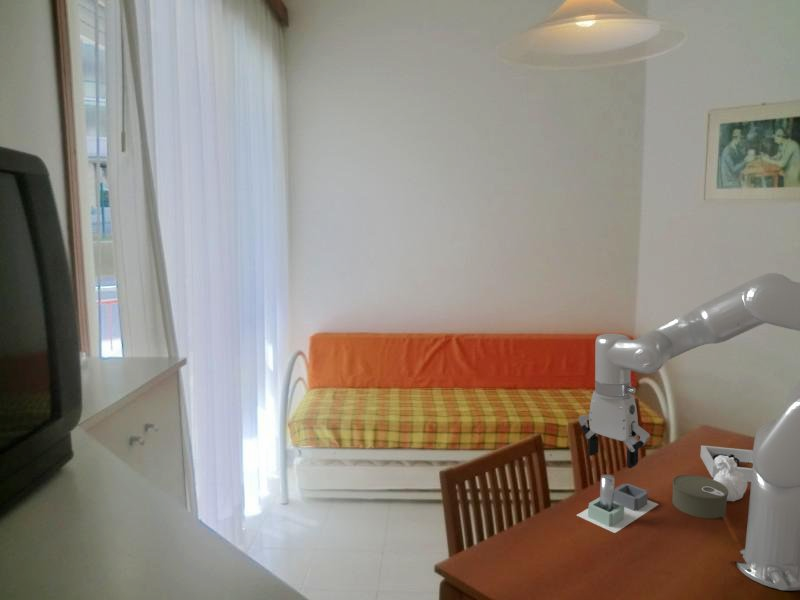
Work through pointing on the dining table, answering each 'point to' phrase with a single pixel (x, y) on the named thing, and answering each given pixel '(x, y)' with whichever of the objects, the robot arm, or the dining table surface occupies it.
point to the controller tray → (740, 454)
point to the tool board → (619, 508)
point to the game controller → (729, 457)
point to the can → (700, 496)
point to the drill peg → (607, 492)
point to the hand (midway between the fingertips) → (612, 460)
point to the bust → (730, 477)
